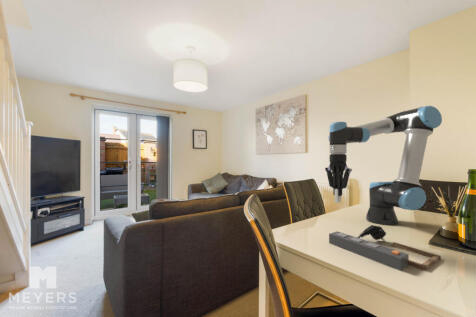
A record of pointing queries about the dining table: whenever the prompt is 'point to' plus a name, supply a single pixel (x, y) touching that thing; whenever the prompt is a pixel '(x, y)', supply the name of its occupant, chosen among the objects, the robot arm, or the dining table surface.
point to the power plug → (374, 232)
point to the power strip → (370, 250)
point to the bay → (427, 263)
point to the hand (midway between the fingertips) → (337, 202)
